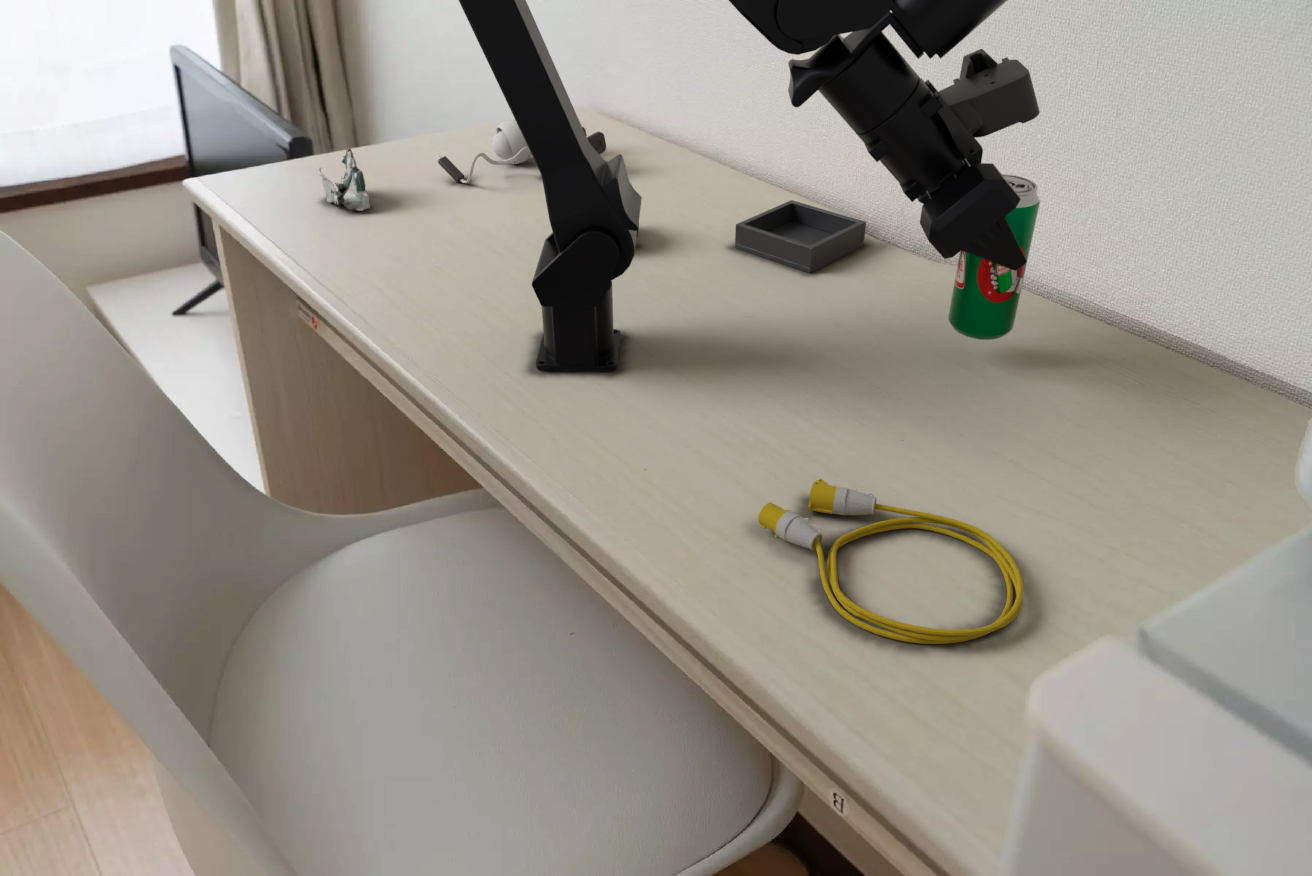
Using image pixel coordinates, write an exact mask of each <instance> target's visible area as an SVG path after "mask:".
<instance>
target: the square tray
mask: <svg viewBox="0 0 1312 876" xmlns="http://www.w3.org/2000/svg"><path fill="white" fill-rule="evenodd" d="M866 227H867V221H864V220H861V219H859V218H855V217H851V216H848V215H845V214H840V213H837V212H835V211H831V210H827V209H824V208H820V207H817V206H814V205H810V204H807V203H803V202H800V201H796V200H791V199H790V200H788V201H785V202H784V203H782V204H779V205H777V206H774V207H772V208H770V209H768V210H765V211H763V212H761V213H759V214H756V215H754V216H752V217H750V218H748V219H745V220H743V221H740V222H738V223H736V224H735V238H734V248H735V249H737V250H741V251H744V252H747V253H750V254H752V255H755V256H758V257H761V258H764V259H767V260H770V261H773V262H777V263H779V264H782V265H785V266H788V267H790V268H794V269H797V270H800V271H803V272H806V273H809V274H811V273H813V272H815V271H817V270H819V269H820V268H822V267H824V266H826V265H828V264H830V263H832V262H834V261H837V260H838V259H840V258H842V257H844V256H846V255H847V254H850V253H852V252H853V251H856V250H857V249H859V248H861V247H863V246H864V245H865V236H866Z"/></svg>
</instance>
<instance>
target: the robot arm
mask: <svg viewBox="0 0 1312 876" xmlns="http://www.w3.org/2000/svg"><path fill="white" fill-rule="evenodd" d="M1007 1H1008V0H728V2H730V4H731V5H732V6H733V7H734V8H735V9H736V10H737V12H739V14H740V15H741V16H742V17H744V18H745V19H746V21H748V23H750V24H751V25H752V27H754V28H755V29H756V30H757V31H758V32H759V33H760V34H761V35H762V36H763V37H764V38H765V39H766V40H768V42H769V43H770V44H771V45H772V46H774V47H775V48H776V49H777V50H779V51H782V52H784V53H786V54H788V55H789V54H790V55H797V56H799V55H802V54H806V53H811V52H814V51H815V52H814V53H813V54H812V55H811V56H810V57H809V58H806V59H805V58H804V59H794V58H791V59H789V61H788V62H787V65H788V68H789V84H788V88H787V92H788V96H789V100H790V104H791V105H792V107H794V108H800V107H801V106H803V105H804V104H805V102H807V101H808V100H809V99H810V98H811V97H812V96H813V95H815V94H816V92H819V93H820V94H821V95H822V96H823V98H824V99H825V100H826V101H827V102H828V103H829V104H830V106H831V107H832V108H833V109H834V110H835V112H837V113H838V114H839V116H840V117H841V118H842V119H843V121H844V122H846V124H847V125H848V126H849V128H851V129H852V130H853V132H854V133H855V134H856V135H857V137H858V138H859V139H860V140H861V141H862V142H863V143H864V146H865V148H866V150H867V153H868V154H869V155H870V156H871V158H872V159H874V161H875V162H876V163H878V162H880V163H881V164H882V165H883V166H884V167H885V169H886V170H887V171H888V172H889V173H890V174H891V175H892V176H893V177H894V179H895V180H896V181H897V183H898V184H899V187H900V188H901V190H902V192H903V194H904V195H905V196H906V197H907V198H908V199H909V201H911V203H913V202H914V201H916V200H917V201H918V202H919V203H921V204H922V205H921V213H920V217H919V225H920V226H921V229H922V230H923V233H924V235H925V237H926V239H927V241H928V243H929V244H931V246H932V247H933V248H934V249H935V250H936V251H937V253H938V254H940V256H941V257H942V258H943V260H946V259H950V258H954V257H955V256H956V255H958V253H959V254H960V251H964V252H967V253H970V254H973V255H975V256H978V257H981V258H983V259H986V260H989V261H991V262H994V263H996V264H999V265H1001V266H1004V267H1006V268H1009V269H1011V270H1014V271H1016V270H1018V269H1019V268H1021V267H1022V266H1023V265H1025V264H1026V262H1027V263H1028V260H1026V258H1025V256H1024V254H1023V252H1022V250H1021V248H1020V246H1019V244H1018V242H1017V240H1016V238H1015V236H1014V234H1013V232H1012V230H1011V228H1010V226H1009V224H1008V222H1007V220H1006V218H1005V216H1006V215H1007V214H1009V213H1010V212H1011V211H1012V210H1014V209H1015V208H1016V207H1017V205H1018V203H1019V202H1020V200H1021V199H1020V197H1019V196H1018V195H1017V193H1016V192H1015V191H1014V189H1013V188H1012V186H1011V185H1010V184H1009V183H1008V181H1007V180H1006V179H1005V178H1004V176H1003V175H1002V174H1003V173H1001V171H1000V170H999V169H998V167H997V166H996V165H995V164H994V163H991V162H990V163H983V161H982V160H983V154H984V153H983V152H984V149H983V146H982V145H981V144H980V143H979V141H978V140H977V138H983V137H986V136H989V135H991V134H994V133H996V132H999V131H1001V130H1003V129H1006V128H1009V127H1012V126H1014V125H1016V124H1019V123H1021V124H1025V123H1028V122H1030V121H1033V120H1035V119H1036V118H1037V117H1038V116H1039V115H1040V113H1041V111H1040V107H1039V103H1038V99H1037V96H1036V92H1035V89H1034V88H1035V87H1034V84H1033V80H1032V76H1031V74H1030V73H1031V72H1030V70H1029V69H1028V68H1027V67H1026V66H1025V65H1024V64H1022V62H1020V61H1019V60H1018V59H1009V58H1008V57H1006V56H1005V57H1004V58H1001V62H999V63H998V62H997V61H996V60H995V59H994V58H993V57H992V56H991V55H989V54H988V52H986V51H985V50H984V48H980V49H977V50H975V51H973V52H970V53H968V54H966V55H964V56H963V57H962V63H961V67H960V73H959V77H957V78H955V79H954V78H953V80H952V81H953V84H951V85H949V86H947V87H945V88H943V89H940V90H939V91H938V90H937V88H936V87H935V86H934V84H933V83H932V82H931V81H930V80H929V79H926V80H925V81H924V80H923V78H922V77H920V76H919V75H918V73H917V71H915V70H914V68H913V67H912V66H911V64H909V62H908V61H907V60H906V58H905V57H904V56H903V55H902V54H901V52H899V50H898V49H897V48H896V47H895V45H894V44H893V43H892V42H891V40H890V39H889V38H888V37H887V36H886V35H885V33H884V32H883V31H884V30H885V29H886V28H888V26H891V28H892V30H893V31H894V32H895V33H896V34H897V35H898V37H899V38H900V39H901V40H902V41H903V43H904V44H905V45H906V47H907V48H908V49H909V50H910V51H911V53H912V54H913V55H914V56H915V57H916V58H917V59H918V60H919V59H920V58H922V57H923V56H924V55H926V56H927V57H928V58H929V60H931V59H933V57H935V56H936V55H937V57H938V58H939V59H940V60H941V59H943V58H944V57H945V56H946V55H947V54H948V53H950V52H951V51H952V50H953V49H954V48H955V47H957V45H958V44H959V43H961V42H962V41H963V40H964V39H965V38H966V37H968V36H969V35H970V34H971V33H972V32H973V31H975V30H976V29H977V28H978V27H979V26H980V25H981V24H982V23H983V22H985V21H986V20H987V19H988V18H989V17H991V15H992V14H994V13H995V12H996V11H997V10H998V9H1000V7H1002V6H1003V5H1004V4H1005V3H1006V2H1007ZM458 2H459V4H460V7H461V9H462V10H463V13H464V15H465V17H466V20H467V21H468V24H469V25H470V27H471V30H472V33H474V36H475V38H476V40H477V42H478V44H479V46H480V49H481V51H482V53H483V55H484V57H485V59H486V61H487V63H488V66H489V67H490V69H491V71H492V74H493V76H494V78H495V80H496V82H497V84H498V87H499V89H500V90H501V92H502V95H503V97H504V99H505V101H506V103H507V105H508V108H509V109H510V111H511V114H512V116H513V118H514V120H516V122H517V124H518V126H519V128H520V131H521V133H522V135H523V137H524V139H525V141H526V143H527V145H528V147H529V149H530V152H531V154H532V155H531V157H533V160H534V162H535V165H536V166H537V168H538V171H539V173H540V176H541V181H542V186H543V192H544V197H545V203H546V208H547V214H548V220H549V225H550V227H551V231H552V232H551V233H550V234H549V235H548V236H547V237H546V238H545V239H544V243H543V246H542V249H541V252H540V256H539V259H538V262H537V265H536V269H535V272H534V274H533V278H532V282H531V287H532V289H533V292H534V294H535V295H536V299H537V300H538V302H539V304H540V306H541V316H542V318H541V319H542V331H543V333H542V337H541V340H540V344H539V348H538V353H537V357H536V360H535V369H536V370H539V371H578V372H579V371H582V372H583V371H585V372H586V371H587V372H590V371H593V372H597V371H598V372H600V371H601V372H613V371H616V370H617V369H618V363H619V355H620V353H619V352H620V347H621V339H622V331H621V330H620V329H615V328H614V307H613V306H614V303H613V300H614V298H613V280H615V279H616V278H619V277H620V276H622V275H623V274H624V273H625V272H626V271H627V270H628V269H629V268H630V266H631V264H632V262H633V259H634V257H635V253H636V245H637V244H636V243H637V238H636V236H637V230H638V225H639V226H640V215H641V208H642V207H641V206H642V198H643V197H642V196H641V194H640V193H638V192H637V190H636V189H635V188H634V186H633V184H632V183H631V182H630V179H629V178H630V177H629V175H628V171H627V168H626V164H625V159H624V157H623V155H622V153H621V154H620V153H619V154H618V155H616V156H614V157H612V158H611V159H609V160H608V161H606V160H605V159H604V158H603V157H602V155H601V154H600V155H599V154H598V152H597V151H596V150H595V149H594V148H593V147H592V146H591V144H590V143H589V141H588V139H587V137H586V135H587V134H586V135H585V133H584V130H583V128H582V127H583V126H582V124H581V122H580V119H579V117H578V114H577V113H576V110H575V109H574V108H575V107H574V106H573V104H572V103H573V102H572V101H571V99H570V97H569V95H568V92H567V90H566V88H565V86H564V83H563V81H562V78H561V76H560V74H559V72H558V69H557V68H556V65H555V63H554V60H553V58H552V56H551V54H550V52H549V49H548V47H547V45H546V42H545V39H544V38H543V36H542V34H541V30H540V29H539V27H538V25H537V21H536V20H535V18H534V15H533V13H532V11H531V8H530V6H529V5H528V2H527V0H458ZM848 33H849V34H848ZM843 34H848V35H846V36H845V37H843Z"/></svg>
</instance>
